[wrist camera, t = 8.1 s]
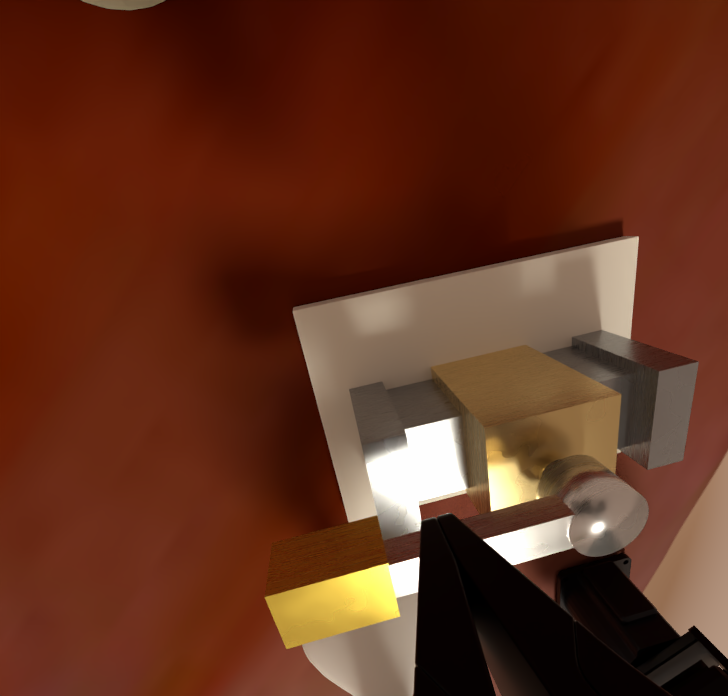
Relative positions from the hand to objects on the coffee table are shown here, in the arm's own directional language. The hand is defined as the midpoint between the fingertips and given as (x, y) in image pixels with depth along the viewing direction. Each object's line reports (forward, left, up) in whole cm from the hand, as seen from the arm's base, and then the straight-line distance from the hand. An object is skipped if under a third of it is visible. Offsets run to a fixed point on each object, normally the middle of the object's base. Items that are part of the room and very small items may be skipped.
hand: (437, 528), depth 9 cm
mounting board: (-3, -7, -12) cm, 14 cm away
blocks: (-4, -7, -11) cm, 14 cm away
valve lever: (-4, -1, -4) cm, 6 cm away
